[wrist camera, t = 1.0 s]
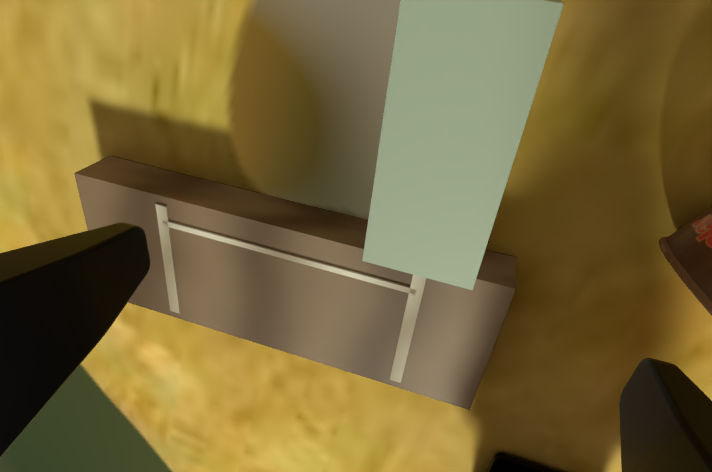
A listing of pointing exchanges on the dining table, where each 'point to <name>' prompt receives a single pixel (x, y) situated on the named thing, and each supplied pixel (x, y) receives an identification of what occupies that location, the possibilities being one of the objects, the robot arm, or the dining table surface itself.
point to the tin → (693, 256)
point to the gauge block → (453, 130)
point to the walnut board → (300, 280)
